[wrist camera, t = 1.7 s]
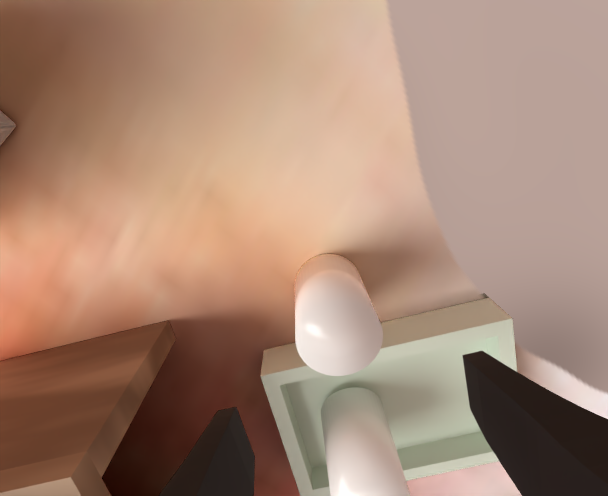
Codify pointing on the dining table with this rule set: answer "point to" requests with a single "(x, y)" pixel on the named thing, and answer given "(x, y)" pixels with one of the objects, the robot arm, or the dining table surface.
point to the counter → (74, 410)
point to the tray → (397, 392)
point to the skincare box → (5, 127)
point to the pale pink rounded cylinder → (360, 446)
